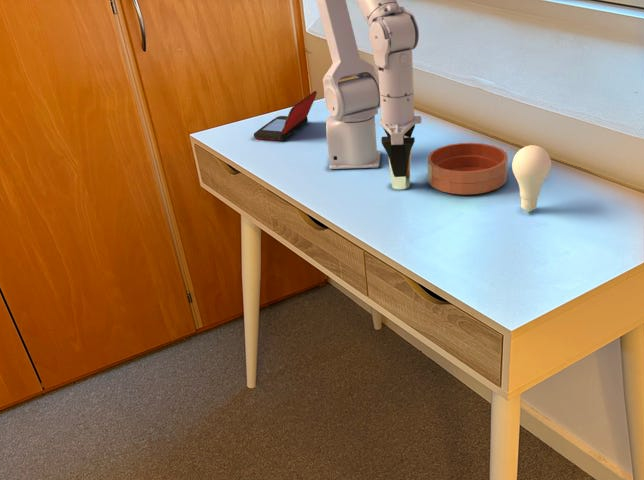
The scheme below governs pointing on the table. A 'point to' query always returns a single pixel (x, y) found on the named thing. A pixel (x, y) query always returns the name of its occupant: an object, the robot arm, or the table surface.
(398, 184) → the milkshake
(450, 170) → the bowl
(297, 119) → the handheld game console
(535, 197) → the lightbulb
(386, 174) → the table surface
